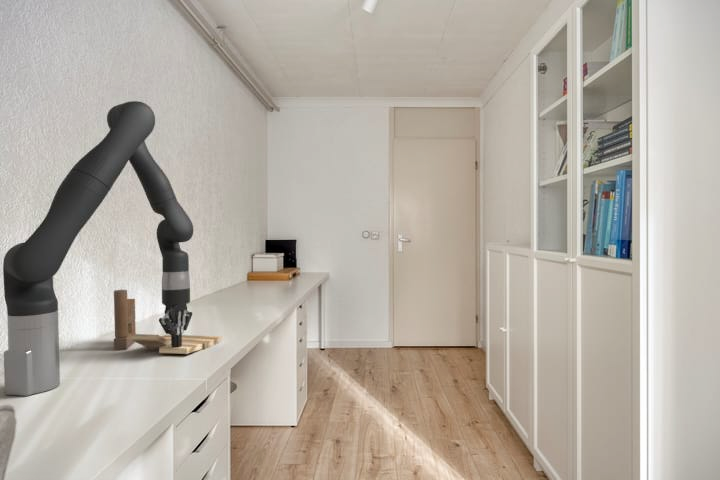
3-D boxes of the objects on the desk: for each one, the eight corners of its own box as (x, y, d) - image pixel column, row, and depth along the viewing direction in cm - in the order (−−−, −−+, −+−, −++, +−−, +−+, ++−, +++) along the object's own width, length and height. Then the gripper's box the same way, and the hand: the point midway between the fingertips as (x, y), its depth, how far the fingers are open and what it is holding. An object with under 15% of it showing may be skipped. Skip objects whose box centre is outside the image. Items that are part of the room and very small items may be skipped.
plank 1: (156, 339, 127) (157, 334, 127) (129, 339, 128) (130, 334, 129) (171, 347, 133) (172, 342, 134) (145, 346, 135) (147, 341, 136)
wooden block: (136, 341, 144) (134, 286, 144) (126, 349, 134) (125, 290, 134) (123, 342, 143) (122, 287, 143) (113, 350, 133) (111, 291, 133)
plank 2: (186, 353, 124) (187, 348, 124) (159, 352, 126) (159, 347, 126) (202, 348, 132) (202, 343, 132) (176, 347, 134) (176, 342, 134)
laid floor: (204, 349, 132) (204, 343, 132) (145, 347, 136) (145, 341, 136) (221, 341, 142) (221, 336, 142) (165, 339, 146) (165, 334, 146)
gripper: (173, 289, 120) (174, 353, 119) (200, 285, 133) (201, 342, 132) (149, 289, 121) (149, 352, 121) (178, 285, 134) (178, 342, 134)
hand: (176, 347), depth 127 cm, fingers closed
